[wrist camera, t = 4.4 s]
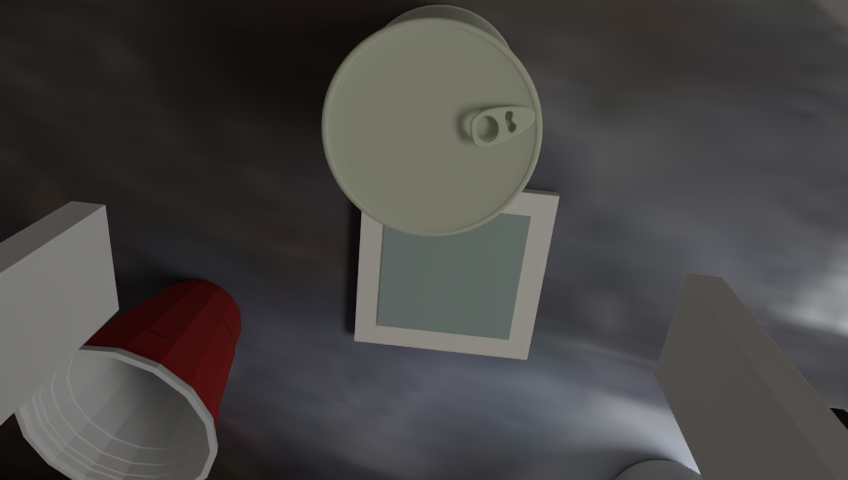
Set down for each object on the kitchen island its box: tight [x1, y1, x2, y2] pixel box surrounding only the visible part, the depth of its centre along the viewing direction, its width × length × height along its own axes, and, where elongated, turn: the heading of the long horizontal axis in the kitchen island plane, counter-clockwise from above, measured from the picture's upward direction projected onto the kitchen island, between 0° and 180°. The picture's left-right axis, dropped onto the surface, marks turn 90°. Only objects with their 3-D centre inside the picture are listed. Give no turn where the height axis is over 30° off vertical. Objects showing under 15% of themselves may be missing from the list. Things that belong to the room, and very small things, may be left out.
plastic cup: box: [15, 280, 241, 480], centre depth 37 cm, size 11×11×12 cm
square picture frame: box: [354, 189, 559, 360], centre depth 39 cm, size 12×12×1 cm
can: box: [321, 5, 542, 237], centre depth 30 cm, size 9×9×12 cm
